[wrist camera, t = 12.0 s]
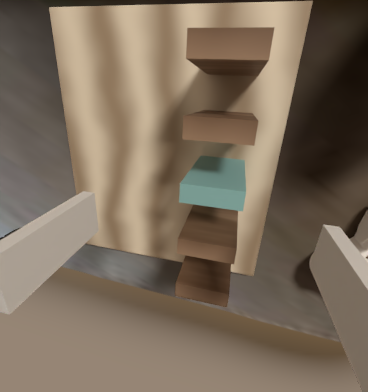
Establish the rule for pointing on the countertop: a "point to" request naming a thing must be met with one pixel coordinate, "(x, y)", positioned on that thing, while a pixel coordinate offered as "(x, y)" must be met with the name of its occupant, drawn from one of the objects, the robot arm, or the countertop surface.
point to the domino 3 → (215, 183)
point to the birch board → (168, 114)
